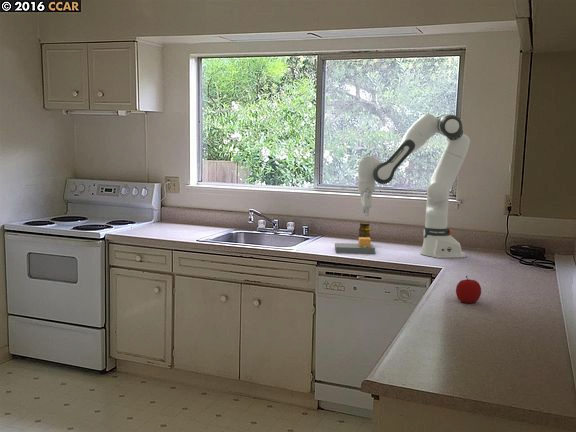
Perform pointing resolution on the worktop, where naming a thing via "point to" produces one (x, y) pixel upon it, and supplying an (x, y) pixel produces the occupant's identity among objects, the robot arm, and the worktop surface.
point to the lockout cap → (364, 241)
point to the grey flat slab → (354, 248)
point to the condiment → (364, 230)
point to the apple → (468, 291)
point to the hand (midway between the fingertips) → (365, 214)
